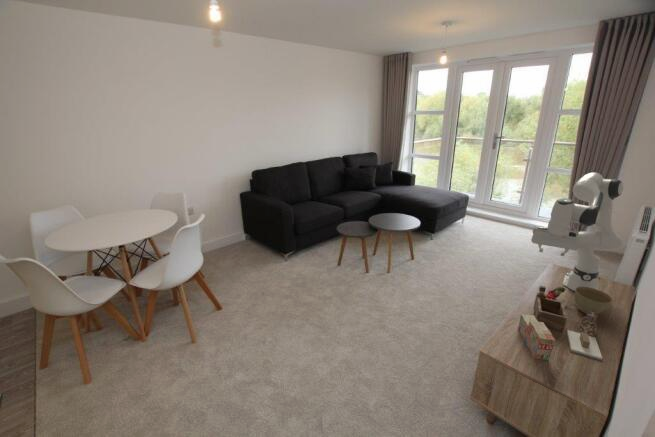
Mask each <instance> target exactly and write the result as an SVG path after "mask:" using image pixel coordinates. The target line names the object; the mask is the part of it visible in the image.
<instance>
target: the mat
mask: <svg viewBox="0 0 655 437" xmlns="http://www.w3.org/2000/svg"><path fill="white" fill-rule="evenodd" d="M565 334H566V339H567V343H568V348H569V352H570V353H573V354H576V355H580V356H583V357H585V358H589V359H593V360H596V361H599V362H604V361H603V359H602V360H601V359H598V358H594V357H591V356H587V355H584V354H581V353H577V352H574V351H571V348H570V344H569V340H568V335H567V330H565Z"/></svg>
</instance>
